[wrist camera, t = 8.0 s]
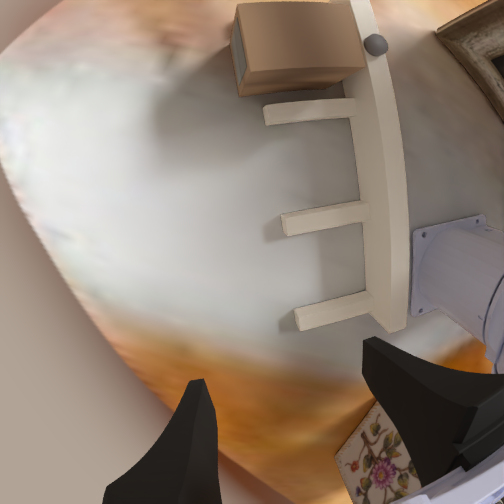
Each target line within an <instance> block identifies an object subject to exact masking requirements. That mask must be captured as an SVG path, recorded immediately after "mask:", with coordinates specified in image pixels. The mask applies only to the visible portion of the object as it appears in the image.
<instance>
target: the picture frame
mask: <svg viewBox="0 0 504 504" xmlns="http://www.w3.org/2000/svg"><path fill="white" fill-rule="evenodd" d="M436 36H437V37H438V38H439V39H440V40H441V41H442V42H443V43H444V44H445V45H446V47H447V48H448V49H449V50H450V51H451V52H452V53H453V54H454V56H455V57H456V58H457V59H458V60H459V61H460V63H461V64H462V65H463V66H464V67H465V69H466V70H467V71H468V72H469V74H470V75H471V76H472V77H473V79H474V80H475V81H476V82H477V84H478V85H479V86H480V88H481V89H482V90H483V92H484V93H485V95H486V96H487V97H488V99H489V100H490V102H491V103H492V105H493V106H494V108H495V109H496V111H497V112H498V114H499V115H500V117H501V118H502V120H503V121H504V0H488V1H486V2H484V3H482V4H480V5H478V6H477V7H475V8H473V9H471V10H469V11H467V12H466V13H464V14H462V15H460V16H458V17H457V18H455V19H453V20H451V21H450V22H448V23H446V24H445V25H443V26H441V27H440V28H438V29H437V32H436Z"/></svg>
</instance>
